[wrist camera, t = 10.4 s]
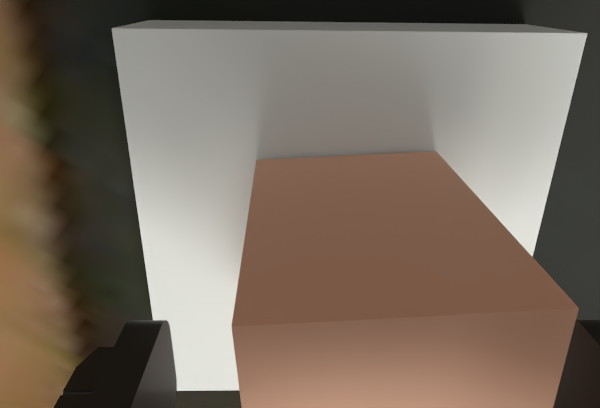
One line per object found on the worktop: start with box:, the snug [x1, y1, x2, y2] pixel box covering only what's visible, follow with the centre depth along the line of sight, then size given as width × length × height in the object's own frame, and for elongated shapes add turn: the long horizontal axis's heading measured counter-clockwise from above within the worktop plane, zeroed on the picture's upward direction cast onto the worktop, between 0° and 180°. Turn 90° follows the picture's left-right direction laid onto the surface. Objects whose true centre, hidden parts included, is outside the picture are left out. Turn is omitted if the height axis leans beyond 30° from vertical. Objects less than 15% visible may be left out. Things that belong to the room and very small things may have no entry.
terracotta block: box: [231, 151, 579, 408], centre depth 11 cm, size 5×5×7 cm
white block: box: [112, 20, 587, 391], centre depth 16 cm, size 12×12×4 cm
